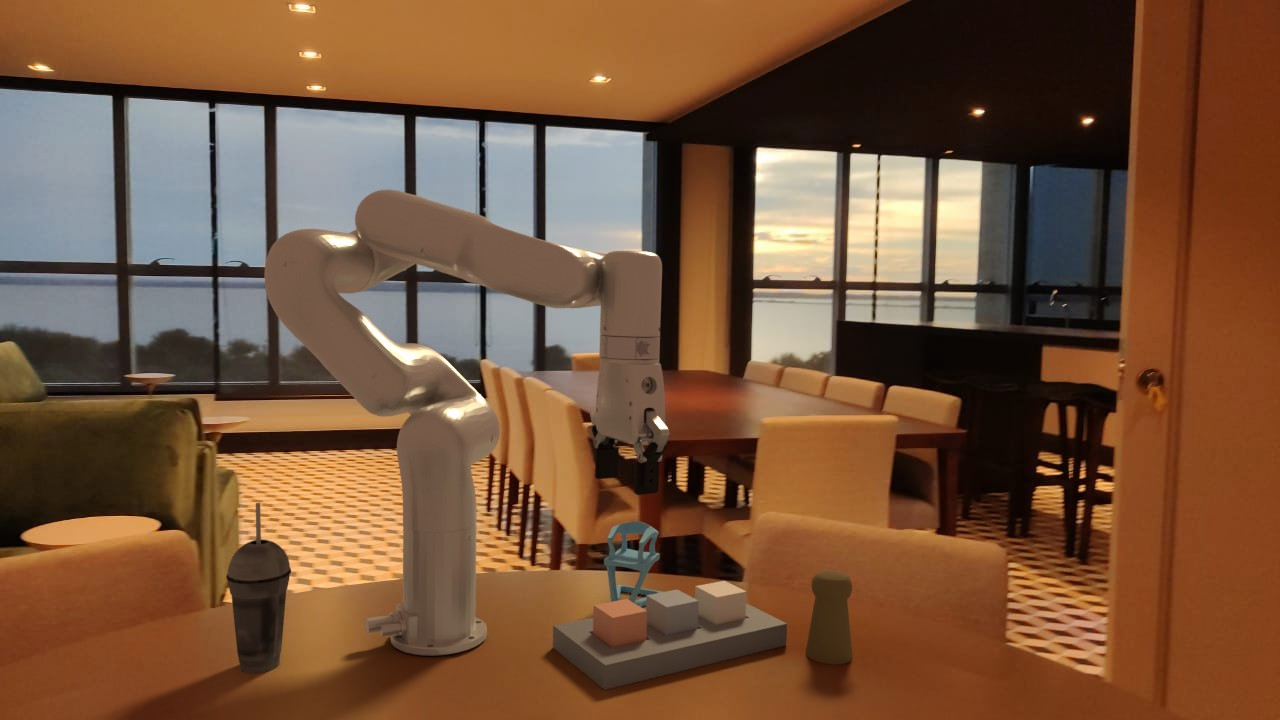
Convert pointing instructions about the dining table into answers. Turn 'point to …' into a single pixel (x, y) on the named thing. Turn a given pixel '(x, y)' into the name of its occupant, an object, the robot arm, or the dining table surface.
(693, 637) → the button panel
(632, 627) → the terracotta button
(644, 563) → the chair
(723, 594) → the cream button
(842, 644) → the cork
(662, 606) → the slate button
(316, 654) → the dining table surface
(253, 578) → the beverage cup
